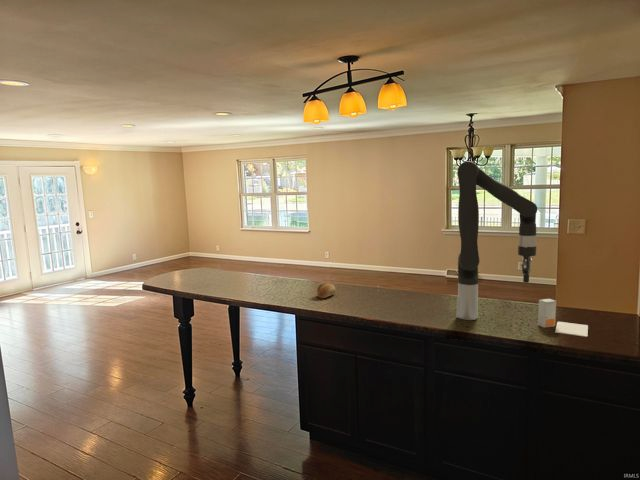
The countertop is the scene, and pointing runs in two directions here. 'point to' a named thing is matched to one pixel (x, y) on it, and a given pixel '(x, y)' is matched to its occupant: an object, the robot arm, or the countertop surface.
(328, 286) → the bread roll
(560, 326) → the mat
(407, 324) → the countertop surface
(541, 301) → the skincare box
